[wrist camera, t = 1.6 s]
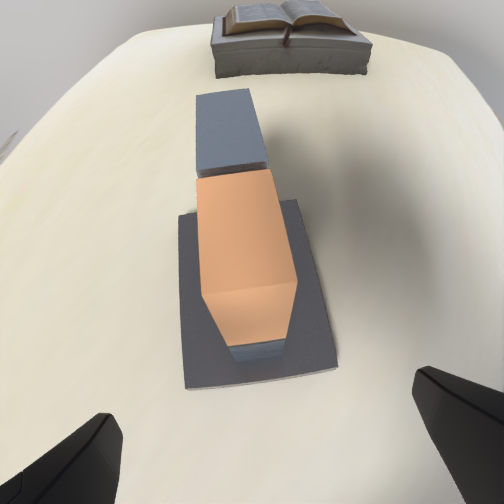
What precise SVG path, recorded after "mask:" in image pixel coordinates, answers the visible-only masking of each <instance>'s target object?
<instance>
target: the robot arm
mask: <svg viewBox="0 0 504 504" xmlns="http://www.w3.org/2000/svg"><path fill="white" fill-rule="evenodd" d="M412 395H413V398H414V400H415V403H416V405H417V407H418V410H419V412H420V414H421V417H422V419H423V421H424V424H425V426H426V429H427V431H428V433H429V435H430V437H431V439H432V441H433V442H434V444H435V446H436V448H437V450H438V451H439V453H440V455H441V457H442V459H443V461H444V462H445V464H446V466H447V468H448V470H449V472H450V474H451V475H452V477H453V479H454V481H455V483H456V485H457V487H458V489H459V491H460V493H461V495H462V497H463V499H464V501H465V503H466V504H504V393H503V392H500V391H497V390H494V389H491V388H488V387H485V386H483V385H480V384H477V383H474V382H472V381H469V380H466V379H463V378H461V377H458V376H455V375H452V374H450V373H447V372H444V371H442V370H439V369H437V368H434V367H431V366H425V367H422V368H420V369H418V370H417V371H416V373H415V378H414V382H413V387H412ZM122 443H123V434H122V431H121V429H120V427H119V426H118V424H117V422H116V420H115V418H114V416H113V415H112V414H110V413H98V414H97V415H95V416H94V417H93V418H91V419H90V420H89V421H88V422H86V423H85V424H84V425H82V426H81V427H80V428H78V429H77V430H76V431H75V432H73V433H72V434H71V435H69V436H68V437H67V438H65V439H64V440H63V441H61V442H60V443H59V444H58V445H56V446H55V447H54V448H52V449H51V450H50V451H48V452H47V453H46V454H44V455H43V456H41V457H40V458H39V459H37V460H36V461H35V462H33V463H32V464H31V465H29V466H28V467H27V468H25V469H24V470H23V472H22V471H21V472H20V473H18V474H17V475H15V476H14V477H13V478H11V479H10V480H8V481H7V482H5V483H4V484H2V485H1V486H0V504H114V503H115V498H116V493H117V487H118V482H119V475H120V464H121V453H122Z"/></svg>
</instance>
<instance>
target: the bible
mask: <svg viewBox="0 0 504 504" xmlns="http://www.w3.org/2000/svg"><path fill="white" fill-rule="evenodd" d="M372 45H373V44H372V43H371V42H370V41H369V40H368V39H367V38H365V37H364V36H363V35H362V34H361V33H359V32H358V31H357V30H356V29H354V28H353V27H352V26H350V25H349V24H348V23H347V22H346V21H344V20H343V19H342V18H341V17H339V16H337V15H336V14H335V13H333V12H332V11H330V10H329V9H328V8H327V7H326V6H325V5H324V4H323V3H322V2H321V1H318V0H288V1H285V2H284V3H283V4H281V6H277V5H275V4H272V3H260V4H253V5H240V6H234V7H233V8H232V9H231V10H230V11H229V12H228V14H227V15H224V16H216V17H215V19H214V23H213V31H212V37H211V47H212V52H213V56H214V59H215V75H216V79H219V78H228V77H235V76H241V75H261V74H287V73H329V74H344V75H348V74H350V75H355V74H361V75H366V74H367V72H368V71H367V67H366V65H367V63H368V62H369V59H370V55H371V48H372Z"/></svg>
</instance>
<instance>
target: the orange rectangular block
mask: <svg viewBox="0 0 504 504" xmlns="http://www.w3.org/2000/svg"><path fill="white" fill-rule="evenodd" d="M196 185H197V218H198V242H199V261H200V278H201V294H202V297H203V299H204V301H205V303H206V305H207V307H208V309H209V311H210V313H211V315H212V317H213V319H214V321H215V323H216V325H217V327H218V329H219V331H220V332H221V334H222V336H223V338H224V340H225V342H226V344H227V346H228V348H229V347H237V346H244V345H252V344H259V343H266V342H272V341H279V340H285V339H286V335H287V330H288V326H289V321H290V316H291V312H292V307H293V302H294V297H295V292H296V287H297V282H298V281H297V276H296V272H295V267H294V263H293V258H292V254H291V250H290V245H289V241H288V237H287V233H286V228H285V224H284V220H283V216H282V212H281V208H280V204H279V200H278V196H277V192H276V188H275V184H274V180H273V176H272V172H271V169H266V170H257V171H249V172H241V173H234V174H227V175H220V176H213V177H206V178H200V179H196Z"/></svg>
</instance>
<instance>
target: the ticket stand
mask: <svg viewBox="0 0 504 504" xmlns="http://www.w3.org/2000/svg"><path fill="white" fill-rule="evenodd" d="M266 169H269V160H268V157H267V153H266V149H265V145H264V141H263V138H262V134H261V130H260V127H259V123H258V119H257V116H256V112H255V109H254V105H253V101H252V98H251V94H250V91H249V88H247V89H238V90H230V91H222V92H215V93H208V94H202V95H196V172H197V176H198V179H200V178H206V177H213V176H220V175H227V174H234V173H241V172H249V171H257V170H266ZM279 204H280V208H281V212H282V216H283V220H284V224H285V228H286V233H287V237H288V241H289V245H290V250H291V254H292V258H293V263H294V267H295V272H296V276H297V281H298V282H297V287H296V292H295V297H294V302H293V307H292V312H291V316H290V321H289V326H288V330H287V335H286V339H285V340H279V341H272V342H266V343H259V344H252V345H244V346H237V347H229V348H228V346H227V344H226V342H225V340H224V338H223V336H222V334H221V332H220V331H219V329H218V327H217V325H216V323H215V321H214V319H213V317H212V315H211V313H210V311H209V309H208V307H207V305H206V303H205V301H204V299H203V297H202V294H201V278H200V261H199V242H198V218H197V213H192V214H186V215H179V218H178V251H179V296H180V320H181V338H182V354H183V367H184V380H185V389H187V390H202V389H214V388H224V387H233V386H242V385H250V384H257V383H264V382H271V381H277V380H283V379H289V378H295V377H301V376H306V375H311V374H316V373H321V372H326V371H331V370H335V369H336V368H338V362H337V358H336V353H335V348H334V344H333V339H332V335H331V331H330V326H329V322H328V318H327V313H326V309H325V305H324V301H323V297H322V293H321V289H320V285H319V281H318V277H317V273H316V269H315V265H314V261H313V257H312V254H311V250H310V246H309V242H308V239H307V235H306V231H305V228H304V224H303V221H302V217H301V214H300V210H299V207H298V203H297V200H296V199H295V200H287V201H279Z"/></svg>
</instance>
